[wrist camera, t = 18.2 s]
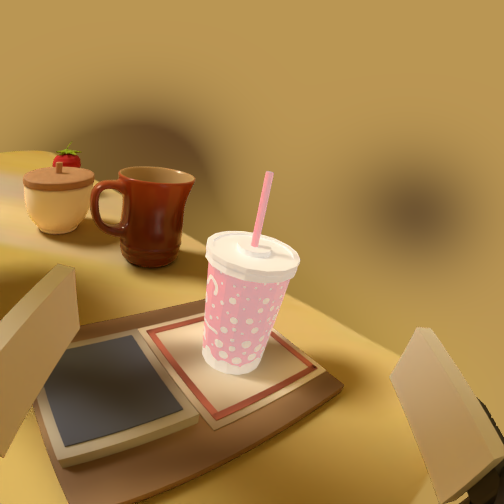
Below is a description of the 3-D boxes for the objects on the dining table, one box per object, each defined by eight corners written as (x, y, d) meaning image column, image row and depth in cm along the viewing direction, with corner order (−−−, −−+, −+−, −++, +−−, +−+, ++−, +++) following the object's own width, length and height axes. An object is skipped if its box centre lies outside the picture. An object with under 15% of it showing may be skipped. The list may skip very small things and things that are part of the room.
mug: (166, 239, 44) (175, 166, 40) (197, 268, 38) (210, 184, 34) (82, 248, 37) (84, 167, 33) (99, 283, 31) (100, 185, 27)
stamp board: (20, 344, 20) (15, 325, 19) (228, 299, 33) (232, 283, 33) (78, 520, 10) (69, 509, 9) (340, 391, 24) (349, 375, 23)
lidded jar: (102, 219, 46) (106, 159, 43) (73, 246, 36) (74, 173, 33) (47, 210, 45) (48, 154, 41) (11, 234, 35) (8, 166, 32)
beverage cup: (203, 322, 27) (230, 157, 22) (273, 340, 27) (317, 176, 22) (181, 369, 22) (206, 167, 16) (265, 390, 21) (324, 193, 16)
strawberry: (76, 185, 60) (80, 139, 56) (81, 195, 55) (85, 143, 51) (50, 187, 57) (53, 139, 53) (52, 197, 51) (55, 143, 48)
